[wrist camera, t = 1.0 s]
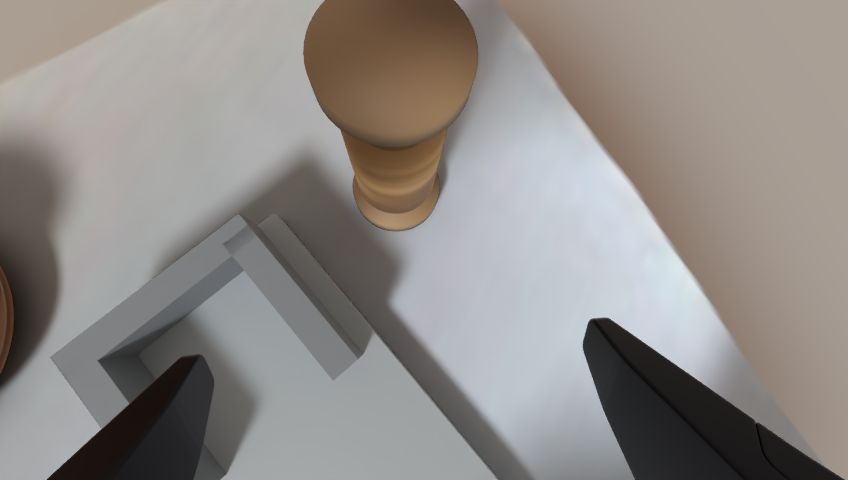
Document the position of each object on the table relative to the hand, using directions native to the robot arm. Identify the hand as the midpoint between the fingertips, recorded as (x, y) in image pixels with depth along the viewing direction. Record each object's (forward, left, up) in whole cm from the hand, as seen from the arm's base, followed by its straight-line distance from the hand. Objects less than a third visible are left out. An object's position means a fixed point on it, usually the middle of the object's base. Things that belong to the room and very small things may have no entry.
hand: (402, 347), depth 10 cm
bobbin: (+6, -5, -13) cm, 16 cm away
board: (-1, +7, -13) cm, 15 cm away
